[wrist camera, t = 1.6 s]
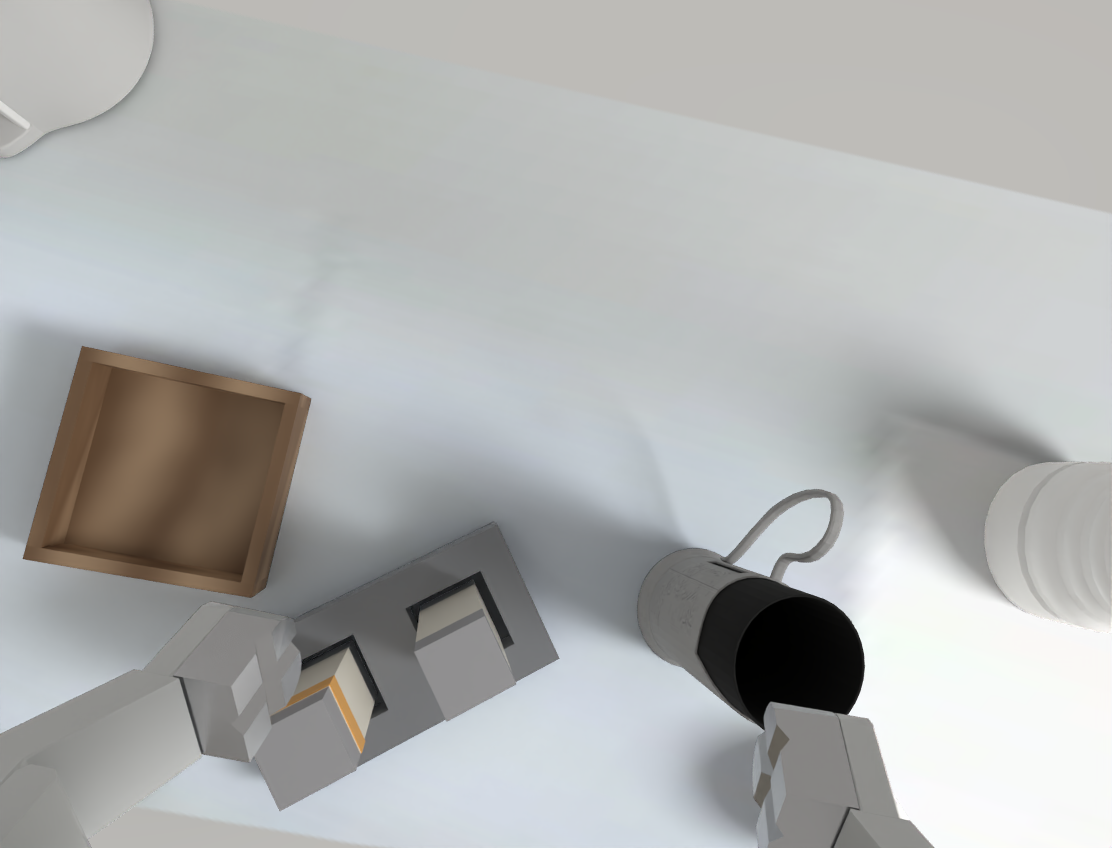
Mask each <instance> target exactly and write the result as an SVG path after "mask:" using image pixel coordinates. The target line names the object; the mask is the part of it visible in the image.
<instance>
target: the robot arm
mask: <svg viewBox="0 0 1112 848" xmlns="http://www.w3.org/2000/svg"><path fill="white" fill-rule="evenodd" d="M153 40H154V20H153V13H152V8H151V5H150V1H149V0H0V158H7V157H12V156H14V155H17V154H18V153H20V152H22V151H23V150H25V149H26V148H28V147H29V146H31V145H32V144H33V143H35V142H36V141H37V140H38V139H40V138H41V137H42V136H43V135H45V134H46V133H49V132H51V131H54V130H56V129H59V128H63V127H67V126H71V125H74V124H78V123H81V122H84V121H87V120H89V119H92V118H94V117H96V116H98V115H100V114H102V113H104V112H105V111H107V110H109V109H110V108H112V107H113V106H114V105H116V104H117V103H118V102H119V101H121V100H122V99H123V98H124V97H125V96H126V95H127V94H128V93H129V92H130V91H131V90H132V89H133V87H134V86H135V85H136V83H137V82H138V81H139V79H140V77H141V76H142V74H143V72H144V70H145V68H146V66H147V64H148V61H149V58H150V55H151V51H152V47H153ZM296 633H297V631H296V627H295V622H294V619H293V618H290V617H287V616H282V615H277V614H272V613H267V612H262V611H258V610H253V609H248V608H243V607H238V606H232V605H227V604H222V603H217V602H212V601H211V602H209V603H207V604H205V605H203V606H201V607H200V608H199V609H198V610H197V611H196V612H195V613H194V614H193V616H192V617H191V618H190V619H189V620H188V621H187V622H186V623H185V624H184V625H183V626H182V628H181V629H180V630H179V631H178V632H177V633H176V634H175V635H174V636H173V637H172V638H171V640H170V641H169V642H168V643H167V644H166V645H165V646H164V647H163V648H162V649H161V650H160V651H159V653H158V654H157V655H156V656H155V657H154V658H153V659H152V660H151V661H150V662H149V663H148V665H147V666H146V667H145V668H144V669H143V670H142V671H141V670H132V671H130V672H127V673H125V674H123V675H121V676H119V677H117V678H115V679H113V680H111V681H109V682H107V683H105V684H103V685H100V686H98V687H96V688H94V689H92V690H90V691H88V692H86V693H84V694H82V695H80V696H78V697H76V698H74V699H71V700H69V701H67V702H65V703H63V704H61V705H59V706H57V707H55V708H53V709H51V710H49V711H47V712H44V713H42V714H40V715H38V716H36V717H34V718H32V719H30V720H28V721H26V722H24V723H22V724H20V725H18V726H15V727H13V728H11V729H9V730H7V731H5V732H3V733H1V734H0V848H91V846H90V843H89V841H88V839H90V838H91V837H92V836H94V835H95V834H97V833H98V832H99V831H101V830H102V829H103V828H105V827H106V826H107V825H109V824H110V823H112V822H113V821H115V820H116V819H117V818H119V817H120V816H122V815H123V814H124V813H126V812H127V811H128V810H130V809H131V808H133V807H134V806H135V805H137V804H138V803H139V802H141V801H142V800H144V799H145V798H146V797H148V796H149V795H151V794H152V793H153V792H155V791H156V790H157V789H159V788H160V787H162V786H163V785H164V784H166V783H167V782H169V781H170V780H171V779H173V778H174V777H175V776H177V775H178V774H180V773H181V772H182V771H184V770H185V769H187V768H188V767H189V766H191V765H192V764H193V763H195V762H196V761H198V760H199V759H200V758H202V754H204V755H209V756H215V757H221V758H226V759H232V760H238V761H243V762H249V763H250V762H251V760H252V759H253V757H254V755H255V754H256V752H257V751H258V749H259V748H260V746H261V745H262V743H263V741H264V740H265V738H266V737H267V735H268V734H269V732H270V731H271V729H272V726H271V717H270V716H271V715H272V714H274V713H276V712H277V711H279V710H281V709H282V708H284V707H286V705H287V704H288V702H289V700H290V699H291V697H292V695H293V694H294V692H295V689H296V686H297V683H298V681H299V678H300V674H301V663H302V661H301V655H300V651H299V650H298V649H297V648H296V647H295V645H294V644H293V643H292V642H291V641H292V639H293V638H294V636H295V635H296ZM764 727H765V732H764V733H762V734H761V735H759V736H758V738H757V742H756V746H755V750H754V757H753V766H752V784H753V797H754V799H755V801H756V802H757V803H758V805H759V806H760V808H761V811H760V814H759V818H758V821H757V824H756V831H757V842H758V848H934V847H933V846H932V844H931V843H930V842H929V841H928V840H927V839H926V838H925V836H924V835H923V834H922V833H921V832H920V831H919V830H918V829H917V827H916V826H915V825H914V824H913V823H912V822H911V821H910V820H905V819H901V818H900V816H899V813H898V810H897V806H896V803H895V799H894V796H893V792H892V789H891V785H890V782H889V778H888V775H887V771H886V768H885V764H884V761H883V757H882V754H881V750H880V747H879V743H878V740H877V737H876V733H875V730H874V726H873V724H872V723H871V721H870V720H869V719H867V718H861V717H856V716H850V715H844V714H838V713H833V712H829V711H823V710H817V709H811V708H805V707H799V706H793V705H787V704H781V703H775V702H770V703H769V704H768V706H767V708H766V711H765V714H764Z"/></svg>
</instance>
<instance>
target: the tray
mask: <svg viewBox="0 0 1112 848" xmlns="http://www.w3.org/2000/svg"><path fill="white" fill-rule="evenodd" d="M310 402H311V398H309V397H307V396H305V395H303V394H301V393H297V392H292V391H287V390H283V389H278V388H274V387H269V386H264V385H260V384H255V383H251V382H246V381H241V380H237V379H232V378H227V377H223V376H218V375H214V374H209V373H204V372H200V371H195V370H191V369H186V368H181V367H177V366H172V365H167V364H163V363H158V362H154V361H149V360H144V359H140V358H135V357H130V356H126V355H121V354H117V353H112V352H107V351H103V350H98V349H94V348H89V347H84V346H82V348H81V351H80V355H79V359H78V362H77V366H76V369H75V373H74V376H73V380H72V384H71V387H70V391H69V394H68V398H67V402H66V405H65V409H64V412H63V416H62V419H61V423H60V427H59V430H58V434H57V437H56V441H55V445H54V448H53V452H52V455H51V459H50V462H49V466H48V470H47V473H46V477H45V480H44V484H43V488H42V491H41V495H40V498H39V502H38V505H37V509H36V513H35V516H34V520H33V523H32V527H31V531H30V534H29V538H28V541H27V545H26V549H25V552H24V556H23V559H25V560H31V561H37V562H43V563H49V564H55V565H61V566H67V567H73V568H79V569H84V570H90V571H96V572H102V573H108V574H114V575H120V576H126V577H132V578H137V579H143V580H149V581H155V582H161V583H167V584H173V585H179V586H185V587H191V588H196V589H202V590H208V591H214V592H220V593H226V594H232V595H238V596H244V597H249V598H251V597H253V596H254V595H256V594H257V593H259V592H260V591H261V590H263V589H264V588H265V587H266V583H267V579H268V575H269V571H270V567H271V563H272V558H273V554H274V550H275V546H276V542H277V538H278V534H279V530H280V526H281V521H282V517H283V513H284V509H285V505H286V501H287V497H288V493H289V489H290V484H291V480H292V476H293V472H294V468H295V464H296V460H297V456H298V452H299V447H300V443H301V439H302V435H303V431H304V427H305V423H306V419H307V415H308V410H309V406H310Z"/></svg>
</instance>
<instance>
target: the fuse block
mask: <svg viewBox="0 0 1112 848" xmlns="http://www.w3.org/2000/svg"><path fill="white" fill-rule="evenodd" d="M479 571H481V573H482V575H483V578H484V580H485V582H486V584H487V586H488V588H489V591H490V593H491V595H492V597H493V599H494V601H495V603H496V606H497V608H498V610H499V612H500V614H501V616H502V618H503V621H504V623H505V625H506V627H507V629H508V631H509V633H510V635H509V636H507V637H505V638H503V639H502V640H501V642H502V645H503V648H504V651H505V654H506V657H507V659H508V662H509V665H510V668H511V671H512V674H513V676H514V679H515V682H517V681H518V680H520V679H522V678H524V677H526V676H528V675H530V674H531V673H533V672H535V671H537V670H539V669H541V668H543V667H545V666H546V665H548V664H550V663H552V662H554V661H556V660H558V659H559V657H558V654H557V652H556V650H555V648H554V646H553V644H552V642H551V639H550V637H549V635H548V633H547V631H546V629H545V626H544V624H543V622H542V620H541V618H540V616H539V614H538V611H537V609H536V607H535V605H534V603H533V601H532V598H531V596H530V594H529V592H528V590H527V588H526V586H525V583H524V581H523V579H522V577H521V575H520V573H519V571H518V568H517V566H516V564H515V562H514V560H513V558H512V555H511V553H510V551H509V549H508V547H507V545H506V543H505V540H504V538H503V536H502V534H501V532H500V530H499V528H498V525H497V524H496V523H495V522H492V523H490V524H488V525H486V526H484V527H482V528H480V529H478V530H476V531H474V532H472V533H470V534H468V535H466V536H464V537H462V538H460V539H457V540H455V541H453V542H451V543H449V544H447V545H445V546H443V547H441V548H439V549H437V550H435V551H433V552H431V553H429V554H427V555H425V556H423V557H420V558H418V559H416V560H414V561H412V562H410V563H408V564H406V565H404V566H402V567H400V568H398V569H396V570H394V571H392V572H390V573H388V574H385V575H383V576H381V577H379V578H377V579H375V580H373V581H371V582H369V583H367V584H365V585H363V586H361V587H359V588H357V589H355V590H353V591H350V592H348V593H346V594H344V595H342V596H340V597H338V598H336V599H334V600H332V601H330V602H328V603H326V604H324V605H322V606H320V607H318V608H315V609H313V610H311V611H309V612H307V613H305V614H303V615H301V616H299V617H297V618H295V619H294V622H295V627H296V631H297V633H296V635H295V636H294V638H293V639H292V641H291V642H292V643H293V644H294V645H295V647H296V648H297V649H298V650H299V651H300V655H301V660H303V659H305V658H307V657H309V656H311V655H313V654H315V653H317V652H319V651H321V650H323V649H325V648H327V647H329V646H331V645H333V644H335V643H337V642H339V641H341V640H343V639H345V638H347V637H349V636H351V635H354V637H355V640H356V642H357V644H358V646H359V648H360V650H361V652H362V655H363V657H364V659H365V661H366V663H367V665H368V667H369V669H370V672H371V674H372V676H373V678H374V680H375V682H376V684H377V686H378V689H379V691H380V693H381V695H382V697H383V699H384V701H383V702H381V703H379V704H377V705H375V706H374V707H373V710H372V714H371V718H370V721H369V725H368V728H367V732H366V736H365V744H364V748H363V752H362V753H361V754H360V758H359V761H358V765H357V767H358V766H360V765H362V764H364V763H365V762H367V761H369V760H371V759H373V758H375V757H377V756H379V755H380V754H382V753H384V752H386V751H388V750H390V749H392V748H393V747H395V746H397V745H399V744H401V743H403V742H405V741H407V740H408V739H410V738H412V737H414V736H416V735H418V734H420V733H421V732H423V731H425V730H427V729H429V728H431V727H433V726H434V725H436V724H438V723H440V722H442V721H444V720H446V719H445V717H444V715H443V713H442V710H441V708H440V706H439V704H438V702H437V700H436V698H435V695H434V693H433V691H432V689H431V687H430V685H429V683H428V680H427V678H426V676H425V674H424V672H423V670H422V668H421V666H420V663H419V661H418V659H417V657H416V655H415V653H414V650H415V643H416V635H417V628H418V624H417V621H416V619H415V617H414V615H413V613H412V611H411V609H410V607H409V606H411V605H413V604H415V603H417V602H419V601H421V600H423V599H425V598H427V597H429V596H431V595H433V594H435V593H437V592H439V591H441V590H443V589H445V588H447V587H449V586H451V585H453V584H455V583H457V582H459V581H461V580H463V579H465V578H467V577H469V576H471V575H473V574H475V573H477V572H479Z"/></svg>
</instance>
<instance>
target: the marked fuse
mask: <svg viewBox="0 0 1112 848" xmlns="http://www.w3.org/2000/svg"><path fill="white" fill-rule="evenodd" d="M376 696H377V691H376V689H375V687H374V684H373V682H372V680H371V678H370V676H369V674H368V672H367V670H366V667H365V665H364V663H363V661H362V659H361V657H360V655H359V653H358V650H357V648H356V646H355V644H354V642H353V640H351V641H349V642H347V643H345V644H343V645H341V646H339V647H337V648H335V649H333V650H331V651H329V652H327V653H325V654H323V655H321V656H319V657H317V658H315V659H313V660H311V661H309V662H307V663H305V664H303V665H301V674H300V678H299V681H298V683H297V686H296V689H295V692H294V694H293V695H292V697H291V699H290V700H289V702H288V704H287V705H286V707H284V708H282V709H281V710H279V711H277V712H276V713H274V714H272V715H271V716H270V717H271V726H272V729H271V731H270V732H269V734H268V735H267V737H266V738H265V740H264V741H263V743H262V745H261V746H260V748H259V749H258V751H257V752H256V754H255V755H254V758H255V760H256V762H257V765H258V767H259V769H260V771H261V773H262V775H263V777H264V779H265V781H266V784H267V786H268V788H269V790H270V792H271V794H272V796H273V798H274V800H275V803H276V805H277V807H278V809H279V811H281V810H283V809H285V808H287V807H289V806H291V805H292V804H294V803H296V802H298V801H300V800H302V799H304V798H305V797H307V796H309V795H311V794H313V793H315V792H317V791H318V790H320V789H322V788H324V787H326V786H328V785H330V784H332V783H333V782H335V781H337V780H339V779H341V778H343V777H345V776H346V775H348V774H350V773H352V772H354V771H356V768H357V765H358V761H359V758H360V754H361V753H362V752H363V748H364V744H365V736H366V732H367V728H368V725H369V721H370V718H371V714H372V710H373V707H374V703H375V699H376Z"/></svg>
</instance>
